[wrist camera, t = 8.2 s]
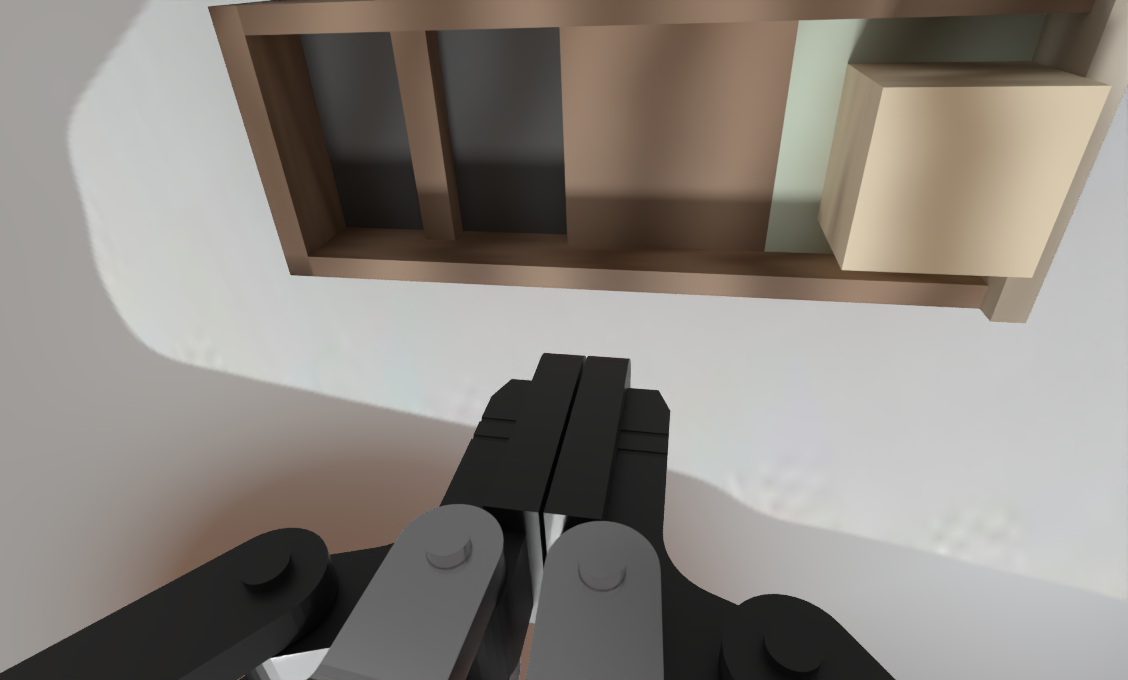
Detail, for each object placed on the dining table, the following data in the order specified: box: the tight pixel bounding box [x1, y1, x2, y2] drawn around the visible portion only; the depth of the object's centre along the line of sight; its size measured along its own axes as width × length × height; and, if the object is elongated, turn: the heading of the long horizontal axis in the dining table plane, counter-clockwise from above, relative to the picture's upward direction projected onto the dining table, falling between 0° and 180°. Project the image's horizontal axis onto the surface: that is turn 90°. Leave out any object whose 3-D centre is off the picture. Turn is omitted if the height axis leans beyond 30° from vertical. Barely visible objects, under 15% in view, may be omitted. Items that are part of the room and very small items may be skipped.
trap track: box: [208, 0, 1128, 323], centre depth 24 cm, size 31×11×5 cm, turn 92°
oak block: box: [817, 61, 1112, 278], centre depth 21 cm, size 6×6×5 cm
